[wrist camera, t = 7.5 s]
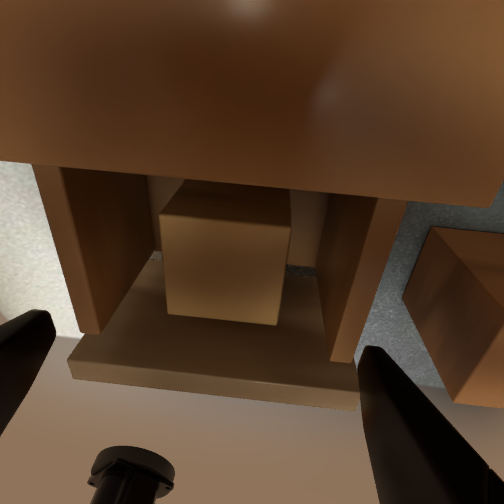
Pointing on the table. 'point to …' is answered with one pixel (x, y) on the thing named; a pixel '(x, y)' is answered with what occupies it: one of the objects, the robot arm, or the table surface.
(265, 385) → the drawer
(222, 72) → the cabinet
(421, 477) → the robot arm
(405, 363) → the table surface
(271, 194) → the block
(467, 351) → the brown wooden block
